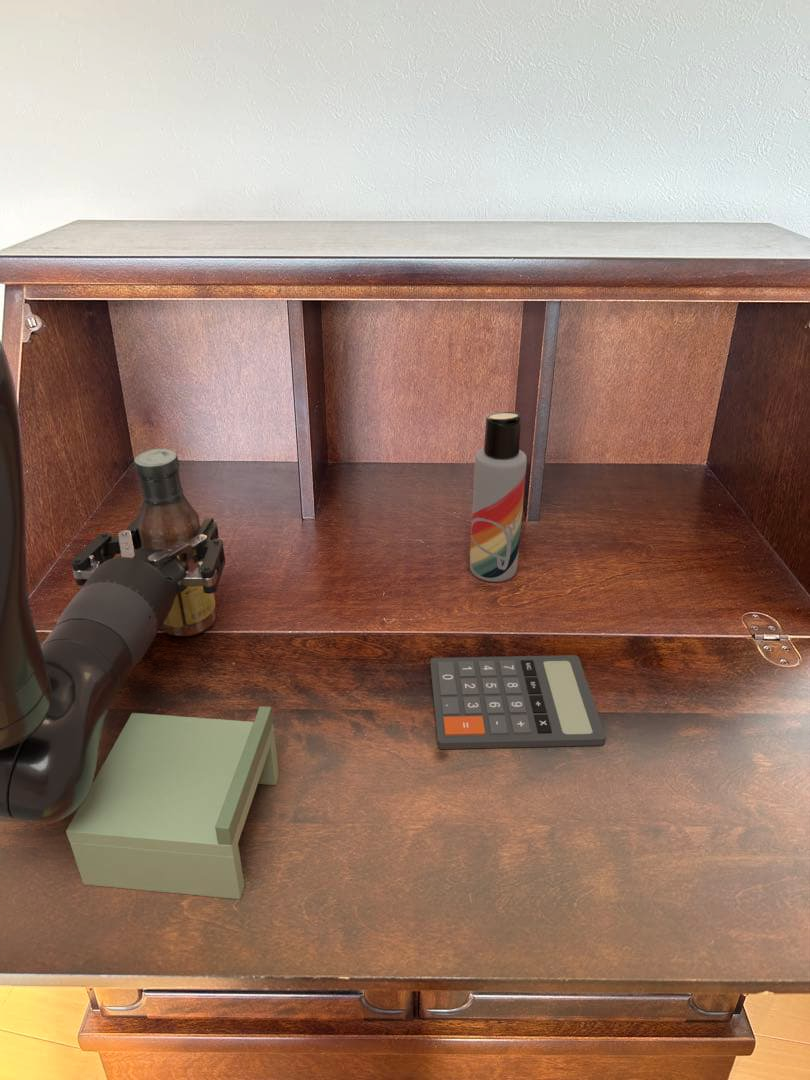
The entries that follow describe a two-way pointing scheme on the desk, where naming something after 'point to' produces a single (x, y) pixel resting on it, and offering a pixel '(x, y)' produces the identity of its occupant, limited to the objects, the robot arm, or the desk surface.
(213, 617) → the sauce bottle
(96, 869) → the shelf
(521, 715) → the calculator
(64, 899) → the desk surface
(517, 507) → the lotion bottle
